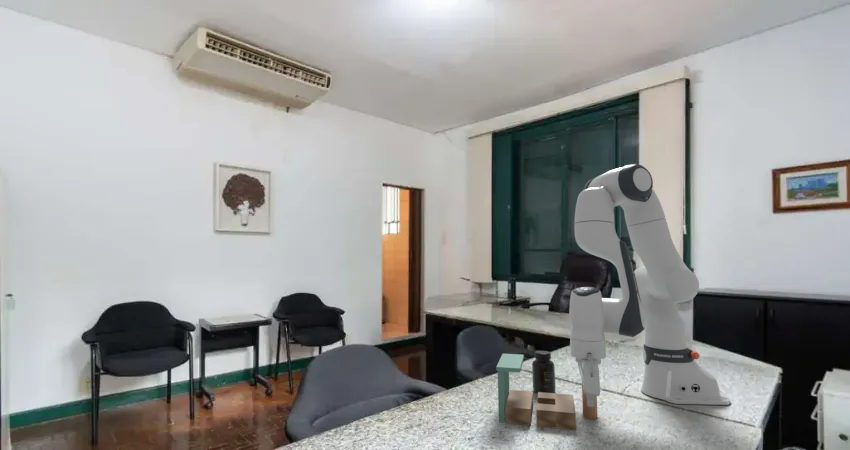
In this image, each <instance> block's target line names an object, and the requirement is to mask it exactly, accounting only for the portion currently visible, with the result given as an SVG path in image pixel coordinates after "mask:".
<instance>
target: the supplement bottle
mask: <svg viewBox="0 0 850 450" xmlns="http://www.w3.org/2000/svg"><path fill="white" fill-rule="evenodd" d="M551 354H552V353H551V351H547V350H536V351H534V359H535V360H533V361H532V363H531V370H532V372H531V373H532V374H531V375H532V390H533V392H535V393H536V394H538V392H545V393H556V371H555V370H556V369H555V362H553V361H552V360H551V359H552V355H551Z"/></svg>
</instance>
